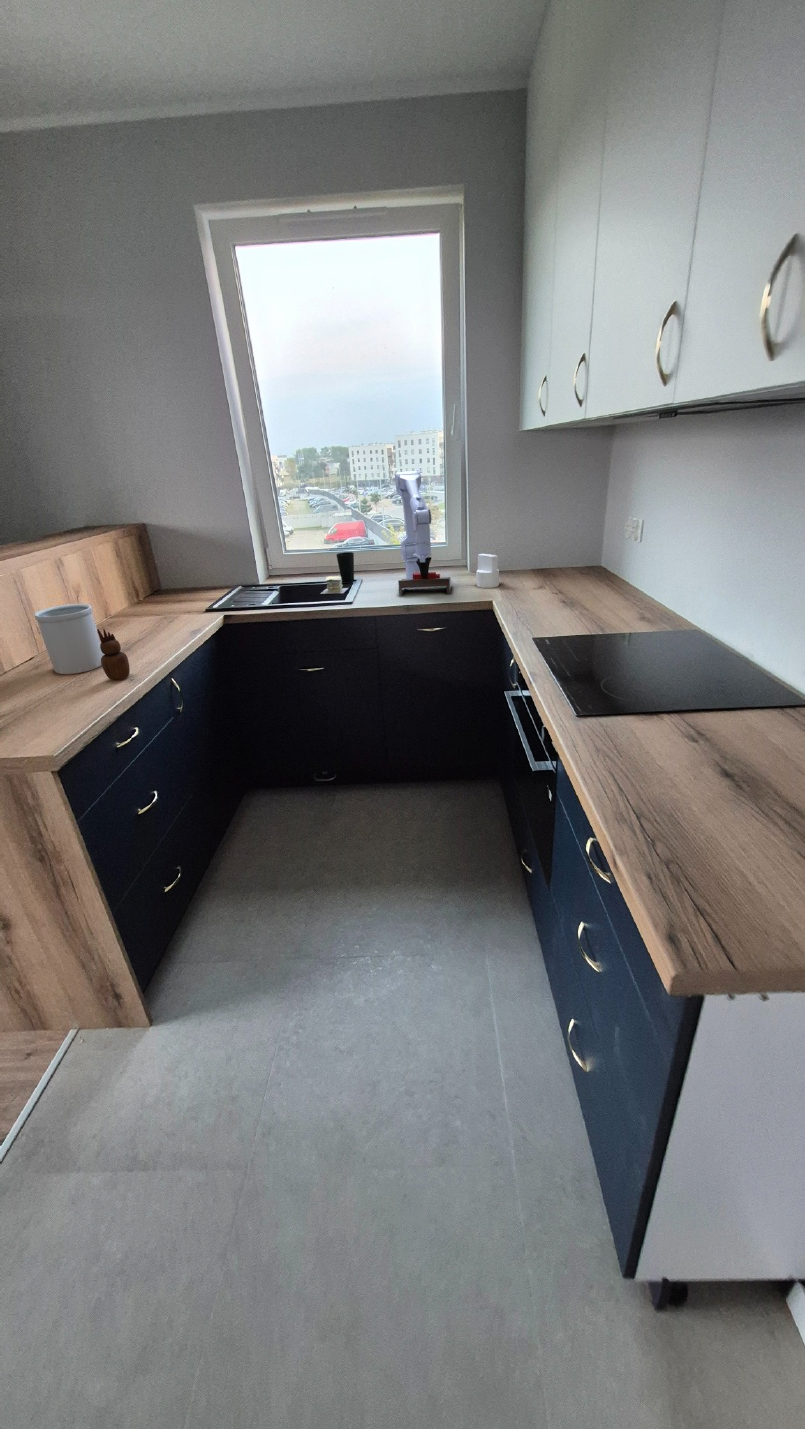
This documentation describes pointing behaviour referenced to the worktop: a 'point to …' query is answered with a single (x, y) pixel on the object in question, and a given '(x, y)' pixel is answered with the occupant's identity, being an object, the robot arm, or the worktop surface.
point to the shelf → (424, 583)
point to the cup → (346, 566)
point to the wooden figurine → (113, 658)
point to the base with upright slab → (487, 571)
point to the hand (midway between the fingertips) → (424, 577)
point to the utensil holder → (70, 638)
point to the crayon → (430, 576)
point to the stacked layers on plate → (334, 586)
